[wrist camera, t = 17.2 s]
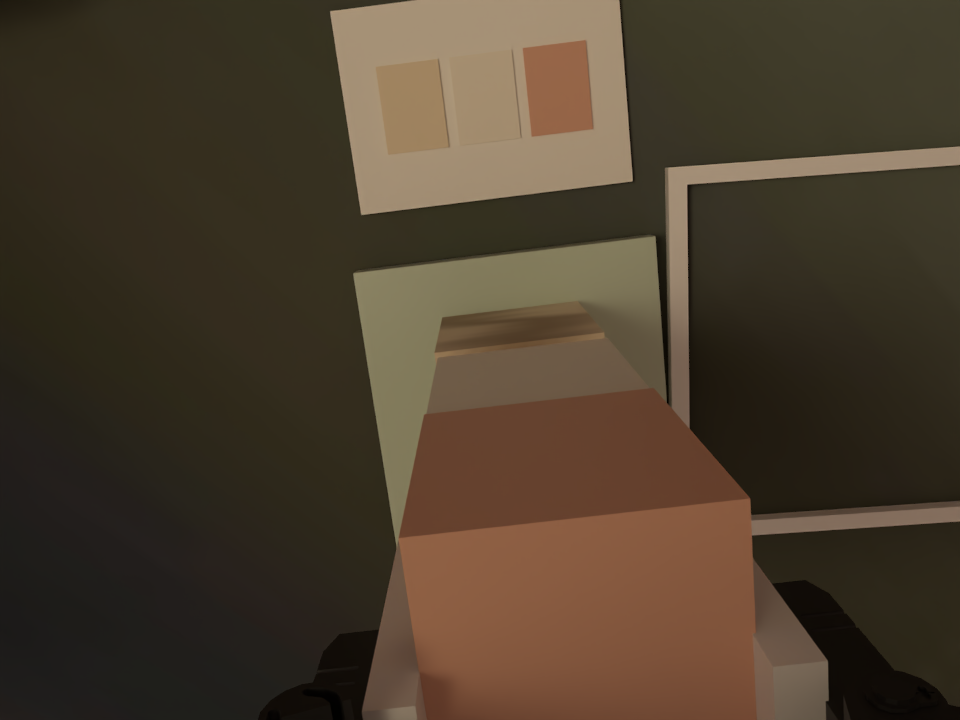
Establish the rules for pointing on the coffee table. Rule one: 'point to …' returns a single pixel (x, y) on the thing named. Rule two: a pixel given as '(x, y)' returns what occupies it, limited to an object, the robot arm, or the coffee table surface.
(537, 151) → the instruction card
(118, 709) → the coffee table surface
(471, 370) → the brick
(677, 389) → the photo frame
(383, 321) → the baseplate
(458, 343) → the brick
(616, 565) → the brick
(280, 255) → the coffee table surface
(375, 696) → the robot arm
